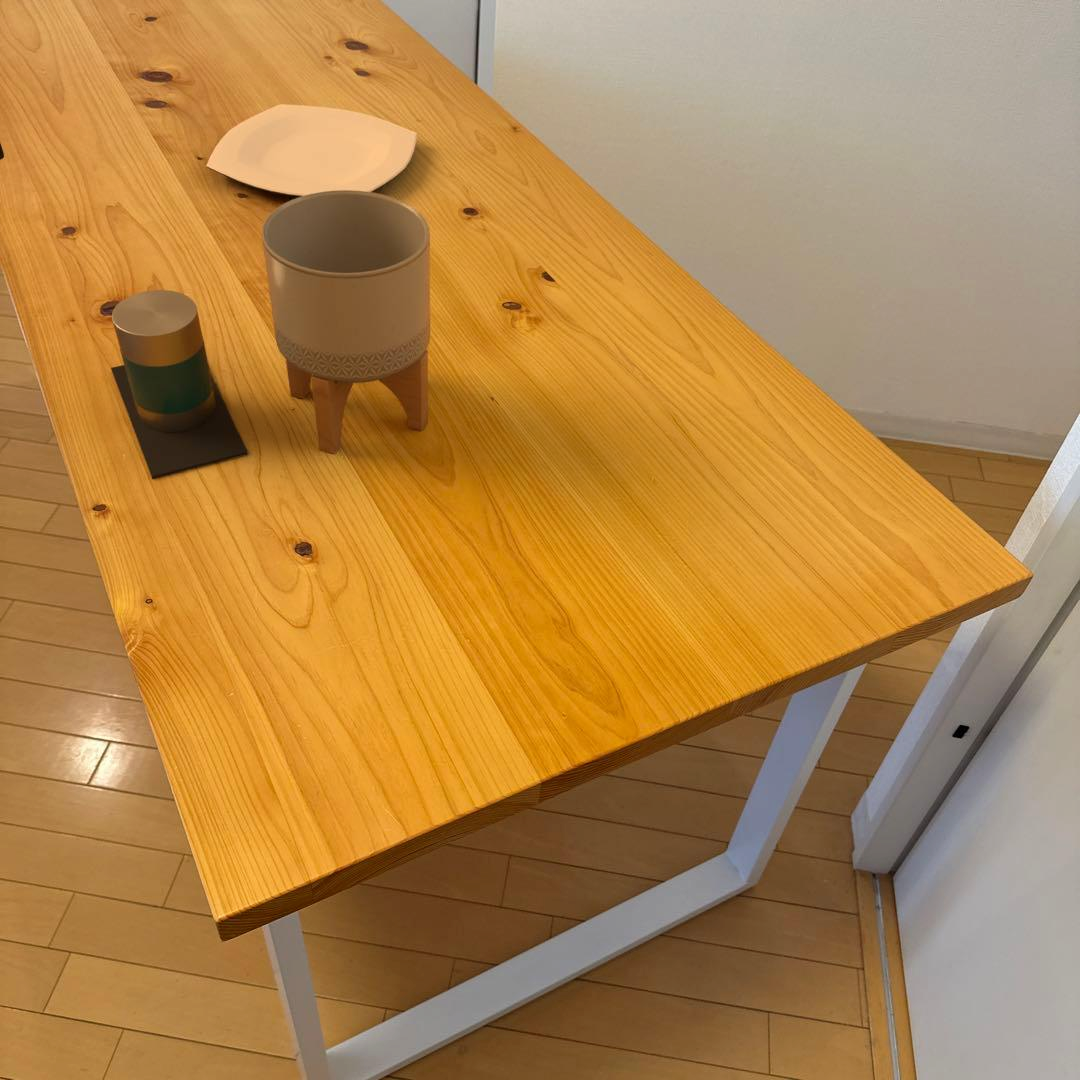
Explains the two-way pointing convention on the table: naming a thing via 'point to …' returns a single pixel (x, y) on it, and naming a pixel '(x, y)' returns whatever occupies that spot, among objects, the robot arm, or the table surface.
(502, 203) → the table surface
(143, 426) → the black flat rectangular slab
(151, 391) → the can
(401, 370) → the planter
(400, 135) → the plate
